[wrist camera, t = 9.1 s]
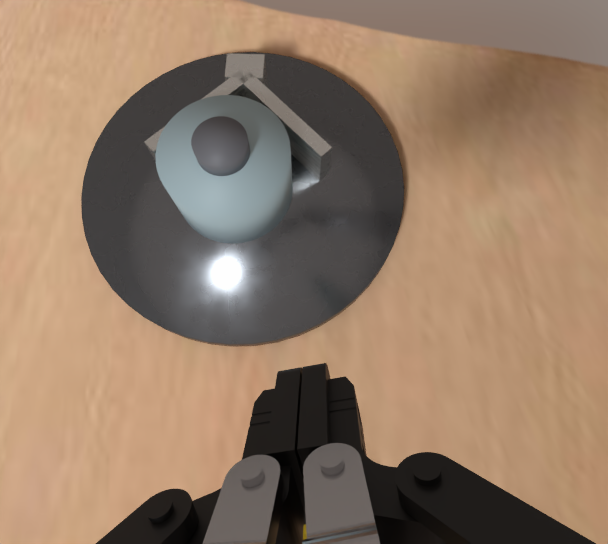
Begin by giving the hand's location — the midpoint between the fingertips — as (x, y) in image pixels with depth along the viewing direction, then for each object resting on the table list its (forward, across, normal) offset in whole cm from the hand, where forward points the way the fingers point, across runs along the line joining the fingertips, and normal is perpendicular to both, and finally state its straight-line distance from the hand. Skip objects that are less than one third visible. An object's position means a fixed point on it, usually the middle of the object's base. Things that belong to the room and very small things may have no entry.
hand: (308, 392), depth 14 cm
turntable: (+29, +6, -2) cm, 30 cm away
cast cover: (+27, +6, -3) cm, 28 cm away
